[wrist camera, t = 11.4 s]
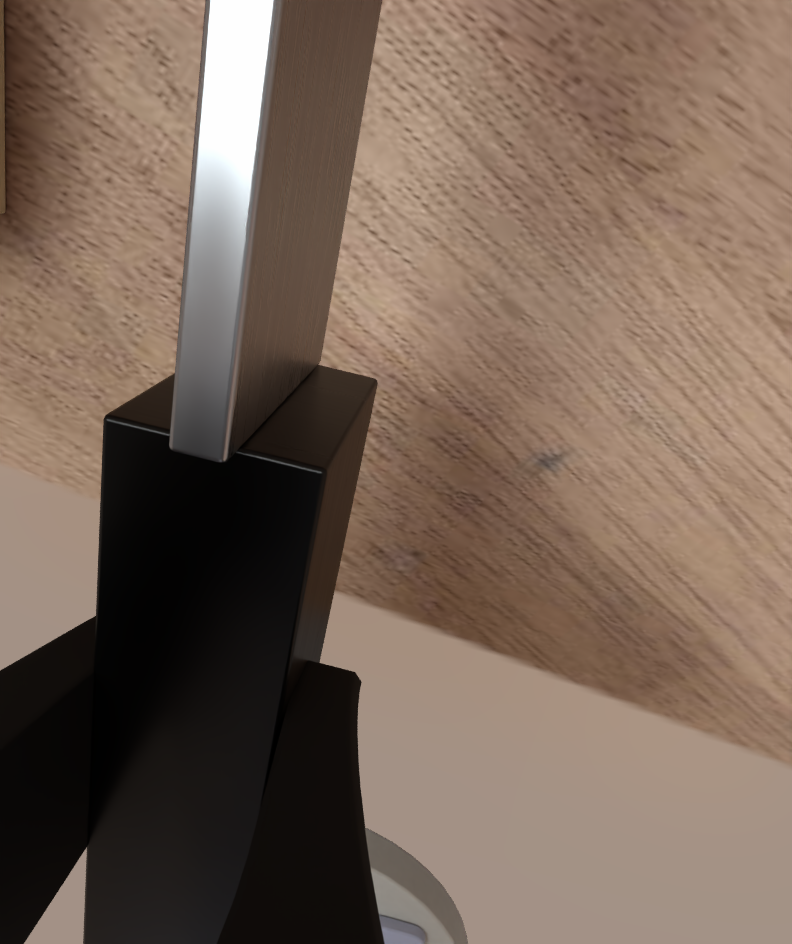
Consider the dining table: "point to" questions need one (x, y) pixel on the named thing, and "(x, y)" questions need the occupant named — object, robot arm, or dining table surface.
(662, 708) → the dining table surface
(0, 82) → the cake slice
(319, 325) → the cake knife
